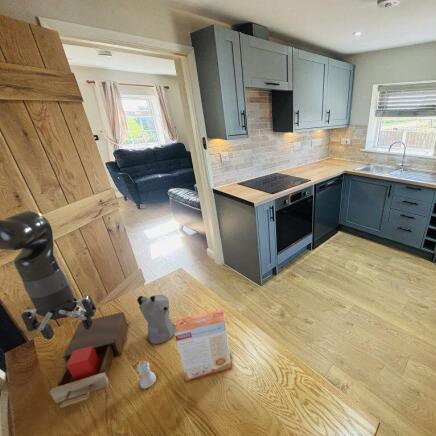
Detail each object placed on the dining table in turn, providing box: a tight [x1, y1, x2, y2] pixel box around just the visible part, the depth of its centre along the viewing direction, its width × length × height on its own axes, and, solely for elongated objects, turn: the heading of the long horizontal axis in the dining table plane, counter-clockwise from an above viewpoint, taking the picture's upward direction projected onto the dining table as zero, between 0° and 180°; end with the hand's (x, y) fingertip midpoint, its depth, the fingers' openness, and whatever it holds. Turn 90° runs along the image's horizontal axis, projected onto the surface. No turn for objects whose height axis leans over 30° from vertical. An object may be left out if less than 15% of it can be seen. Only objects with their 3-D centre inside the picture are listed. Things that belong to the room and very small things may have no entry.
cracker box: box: [174, 308, 232, 382], centre depth 75 cm, size 14×6×21 cm, turn 108°
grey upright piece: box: [136, 294, 176, 345], centre depth 87 cm, size 15×9×18 cm, turn 67°
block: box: [66, 346, 101, 381], centre depth 73 cm, size 5×5×8 cm
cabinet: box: [62, 311, 129, 364], centre depth 84 cm, size 15×14×7 cm
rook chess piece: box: [136, 360, 157, 389], centre depth 73 cm, size 4×4×8 cm
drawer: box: [49, 345, 115, 409], centre depth 73 cm, size 18×12×5 cm
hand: (70, 332), depth 68 cm, fingers open, 8 cm apart
